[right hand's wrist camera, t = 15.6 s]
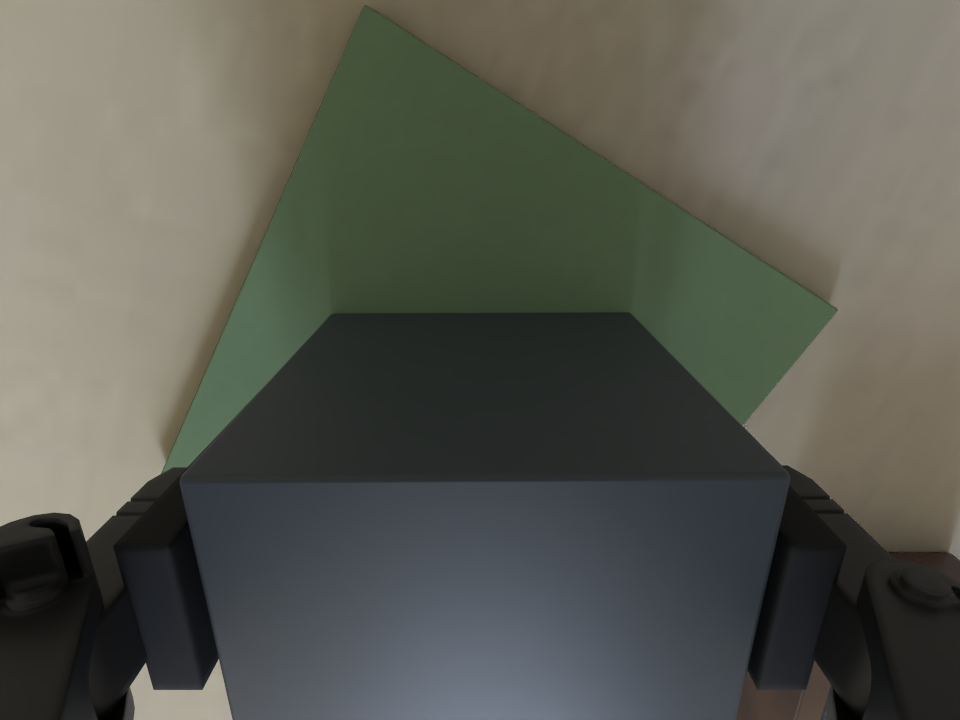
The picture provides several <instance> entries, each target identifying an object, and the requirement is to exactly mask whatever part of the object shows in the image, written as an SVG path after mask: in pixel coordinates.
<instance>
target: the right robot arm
mask: <svg viewBox="0 0 960 720" xmlns="http://www.w3.org/2000/svg"><path fill="white" fill-rule="evenodd" d="M258 393H259V392H258ZM258 393H257V394H258ZM257 394H256V395H257ZM256 395H255V396H256ZM255 396H254V397H255ZM245 407H246V406H245ZM245 407H244V408H245ZM244 408H243V409H244ZM243 409H242V410H243ZM242 410H241V411H242ZM241 411H240V412H241ZM240 412H239V413H240ZM239 413H238V414H239ZM238 414H237V415H238ZM237 415H236V416H237ZM232 421H233V420H232ZM232 421H231V422H232ZM231 422H230V423H231ZM230 423H229V424H230ZM229 424H228V425H229ZM228 425H227V426H228ZM227 426H226V427H227ZM226 427H225V428H226ZM225 428H224V429H225ZM224 429H223V430H224ZM223 430H222V431H223ZM222 431H221V432H222ZM221 432H220V433H221ZM220 433H219V434H218V436H219V435H220ZM218 436H217V437H218ZM217 437H216V438H217ZM216 438H215V439H216ZM215 439H214V440H215ZM214 440H213V441H214ZM213 441H212V442H213ZM212 442H211V443H212ZM211 443H210V444H211ZM210 444H209V445H210ZM209 445H208V446H209ZM208 446H207V447H208ZM207 447H206V448H205V449H204V450H203V451H202V452H201V453H200V455H201V454H202V453H203V452H204V451H205V450H206V449H207ZM200 455H199V456H200ZM199 456H198V457H199ZM198 457H197V458H198ZM197 458H196V459H197ZM196 459H195V460H196ZM195 460H194V461H195ZM194 461H193V462H192V463H191V464H190V465H189V466H188V467H173V468H171V469H169V470H168V471H166V472H164V473H162V474H161V475H159V476H157V477H155V478H154V479H152V480H150V481H148V482H147V483H146V484H145V485H144V486H143V487H142V488H141V489H140V490H139V491H138V492H137V493H136V494H135V495H134V496H133V497H132V498H131V501H130V502H127V503H126V504H125V505H124V506H123V507H121V508H120V509H119V510H118V511H117V514H116V516H112V517H111V518H110V519H109V520H108V521H107V522H106V523H105V524H104V525H103V526H102V527H101V528H100V529H99V530H98V531H97V532H96V533H95V534H94V535H93V536H92V537H91V538H90V539H89V540H88V541H87V542H86V541H85V538H84V534H83V531H82V528H81V525H80V521H79V520H78V519H77V518H75V517H74V516H72V515H70V514H62V513H48V514H41V515H33V516H30V517H27V518H23V519H20V520H16V521H13V522H10V523H8V524H5V525H3V526H1V527H0V720H133V718H134V710H135V707H134V701H133V696H132V693H131V689H130V685H131V684H132V682H133V681H134V679H135V678H136V676H137V675H138V673H139V672H140V670H141V669H142V667H143V666H144V664H145V663H146V664H147V668H148V671H149V675H150V678H151V682H152V685H153V689H154V690H203V688H204V686H205V684H206V682H207V680H208V678H209V676H210V674H211V672H212V670H213V668H214V667H215V665H216V663H217V661H218V659H219V656H218V652H217V647H216V643H215V638H214V634H213V629H212V625H211V621H210V616H209V612H208V607H207V603H206V598H205V594H204V589H203V585H202V581H201V576H200V572H199V567H198V563H197V558H196V554H195V550H194V545H193V541H192V536H191V532H190V527H189V523H188V518H187V514H186V510H185V505H184V501H183V496H182V492H181V487H180V478H181V475H182V474H183V473H184V472H185V471H186V470H187V469H188V468H189V467H190V466H191V465H192V464H193V463H194ZM783 468H784V469H785V470H786V471H787V472H788V473H789V475H790V483H789V488H788V492H787V496H786V501H785V505H784V510H783V514H782V519H781V523H780V527H779V532H778V536H777V541H776V545H775V550H774V554H773V558H772V563H771V567H770V572H769V576H768V581H767V585H766V589H765V594H764V598H763V603H762V607H761V611H760V616H759V620H758V625H757V629H756V634H755V638H754V642H753V647H752V651H751V656H750V660H749V665H748V669H747V670H748V672H749V674H750V676H751V678H752V680H753V682H754V684H755V686H756V688H757V690H806V689H807V685H808V682H809V678H810V675H811V671H812V668H813V664H814V661H816V663H817V664H818V666H819V667H820V669H821V670H822V672H823V673H824V675H825V676H826V678H827V679H828V681H829V682H830V684H831V686H830V689H829V692H828V696H827V699H826V702H825V706H824V709H823V712H822V716H821V719H820V720H960V584H959V583H958V582H957V581H955V580H954V579H952V578H950V577H948V576H946V575H944V574H942V573H940V572H939V571H937V570H935V569H933V568H930V567H927V566H924V565H921V564H918V563H915V562H912V561H906V560H899V559H894V558H893V557H892V556H891V555H890V554H889V553H888V552H887V551H886V550H884V549H883V548H882V547H881V546H880V545H879V544H878V543H877V542H876V541H875V540H874V539H873V538H872V537H871V536H870V535H869V534H868V533H867V532H866V531H865V530H864V529H863V528H862V527H861V526H860V525H859V524H858V523H857V522H856V521H854V520H853V519H852V518H851V517H850V516H849V515H848V514H844V510H843V509H842V508H841V507H840V506H839V505H838V504H837V503H836V502H835V501H834V500H830V498H829V497H830V496H829V495H828V494H827V493H826V492H825V491H823V490H822V489H821V488H820V487H819V486H818V485H817V484H816V483H815V482H814V481H813V480H812V479H810V478H808V477H807V476H805V475H803V474H801V473H800V472H798V471H796V470H794V469H793V468H791V467H789V466H783Z"/></svg>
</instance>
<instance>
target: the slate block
mask: <svg viewBox="0 0 960 720" xmlns="http://www.w3.org/2000/svg"><path fill="white" fill-rule="evenodd" d="M789 483H790V475H789V473H788V472H787V471H786V470H785V469H784V468H783V466H782V465H781V464H780V463H779V462H778V461H777V460H776V459H775V458H774V457H773V456H772V455H771V454H770V453H769V452H768V451H767V450H766V449H765V448H764V447H763V446H762V445H761V444H760V443H759V442H758V441H757V440H756V439H755V438H754V437H753V436H752V435H751V434H750V433H749V432H748V431H747V430H746V429H745V428H744V427H743V426H742V425H741V424H740V423H739V422H738V421H737V420H736V419H735V418H734V417H733V416H732V415H731V414H730V413H729V412H728V411H727V410H726V409H725V408H724V407H723V406H722V405H721V404H720V403H719V402H718V401H717V400H716V399H715V398H714V397H713V396H712V395H711V394H710V393H709V392H708V391H707V390H706V389H705V388H704V387H703V386H702V385H701V384H700V383H699V382H698V381H697V380H696V379H695V378H694V377H693V376H692V375H691V374H690V373H689V372H688V371H687V370H686V369H685V368H684V367H683V366H682V365H681V364H680V363H679V361H678V360H677V359H676V358H675V357H674V356H673V355H672V354H671V353H670V352H669V351H668V350H667V349H666V348H665V347H664V346H663V345H662V344H661V343H660V342H659V341H658V340H657V339H656V338H655V337H654V336H653V335H652V334H651V333H650V332H649V331H648V330H647V329H646V328H645V327H644V326H643V325H642V324H641V323H640V322H639V321H638V320H637V319H636V318H635V317H634V316H633V315H632V314H631V313H629V312H593V313H340V314H331V315H330V316H329V317H328V318H327V319H326V320H325V321H324V322H323V324H322V325H321V326H320V327H319V328H318V329H317V330H316V331H315V332H314V333H313V334H312V335H311V336H310V338H309V339H308V340H307V341H306V342H305V343H304V344H303V345H302V346H301V347H300V348H299V349H298V350H297V352H296V353H295V354H294V355H293V356H292V357H291V358H290V359H289V360H288V361H287V362H286V363H285V364H284V366H283V367H282V368H281V369H280V370H279V371H278V372H277V373H276V374H275V375H274V376H273V377H272V379H271V380H270V381H269V382H268V383H267V384H266V385H265V386H264V387H263V388H262V389H261V390H260V391H259V393H258V394H257V395H256V396H255V397H254V398H253V399H252V400H251V401H250V402H249V403H248V404H247V405H246V407H245V408H244V409H243V410H242V411H241V412H240V413H239V414H238V415H237V416H236V417H235V418H234V419H233V421H232V422H231V423H230V424H229V425H228V426H227V427H226V428H225V429H224V430H223V431H222V432H221V433H220V435H219V436H218V437H217V438H216V439H215V440H214V441H213V442H212V443H211V444H210V445H209V446H208V447H207V449H206V450H205V451H204V452H203V453H202V454H201V455H200V456H199V457H198V458H197V459H196V460H195V461H194V463H193V464H192V465H191V466H190V467H189V468H188V469H187V470H186V471H185V472H184V473H183V474H182V475H181V478H180V487H181V492H182V496H183V501H184V505H185V510H186V514H187V518H188V523H189V527H190V532H191V536H192V541H193V545H194V550H195V554H196V558H197V563H198V567H199V572H200V576H201V581H202V585H203V589H204V594H205V598H206V603H207V607H208V612H209V616H210V621H211V625H212V629H213V634H214V638H215V643H216V647H217V652H218V656H219V661H220V665H221V669H222V674H223V678H224V683H225V687H226V692H227V696H228V701H229V705H230V709H231V714H232V718H233V720H736V718H737V713H738V709H739V704H740V700H741V695H742V691H743V687H744V682H745V678H746V673H747V669H748V665H749V660H750V656H751V651H752V647H753V642H754V638H755V634H756V629H757V625H758V620H759V616H760V611H761V607H762V603H763V598H764V594H765V589H766V585H767V581H768V576H769V572H770V567H771V563H772V558H773V554H774V550H775V545H776V541H777V536H778V532H779V527H780V523H781V519H782V514H783V510H784V505H785V501H786V496H787V492H788V488H789Z"/></svg>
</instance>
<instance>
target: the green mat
mask: <svg viewBox="0 0 960 720" xmlns="http://www.w3.org/2000/svg"><path fill="white" fill-rule="evenodd" d="M593 312H629V313H631V314H632V315H633V316H634V317H635V318H636V319H637V320H638V321H639V322H640V323H641V324H642V325H643V326H644V327H645V328H646V329H647V330H648V331H649V332H650V333H651V334H652V335H653V336H654V337H655V338H656V339H657V340H658V341H659V342H660V343H661V344H662V345H663V346H664V347H665V348H666V349H667V350H668V351H669V352H670V353H671V354H672V355H673V356H674V357H675V358H676V359H677V360H678V361H679V363H680V364H681V365H682V366H683V367H684V368H685V369H686V370H687V371H688V372H689V373H690V374H691V375H692V376H693V377H694V378H695V379H696V380H697V381H698V382H699V383H700V384H701V385H702V386H703V387H704V388H705V389H706V390H707V391H708V392H709V393H710V394H711V395H712V396H713V397H714V398H715V399H716V400H717V401H718V402H719V403H720V404H721V405H722V406H723V407H724V408H725V409H726V410H727V411H728V412H729V413H730V414H731V415H732V416H733V417H734V418H735V419H736V420H737V421H738V422H739V423H740V424H741V425H743V424H744V423H745V422H746V420H747V419H748V418H749V417H750V416H751V414H752V413H753V412H754V411H755V410H756V408H757V407H758V406H759V405H760V404H761V402H762V401H763V400H764V399H765V398H766V396H767V395H768V394H769V393H770V392H771V390H772V389H773V388H774V387H775V385H776V384H777V383H778V382H779V381H780V379H781V378H782V377H783V376H784V375H785V373H786V372H787V371H788V370H789V369H790V367H791V366H792V365H793V364H794V363H795V361H796V360H797V359H798V358H799V357H800V355H801V354H802V353H803V352H804V351H805V349H806V348H807V347H808V346H809V344H810V343H811V342H812V341H813V340H814V338H815V337H816V336H817V335H818V334H819V332H820V331H821V330H822V329H823V328H824V326H825V325H826V324H827V323H828V322H829V320H830V319H831V318H832V317H833V316H834V314H835V313H836V312H837V308H835V307H834V306H832V305H831V304H829V303H827V302H826V301H824V300H823V299H821V298H820V297H818V296H817V295H815V294H814V293H812V292H810V291H809V290H807V289H806V288H804V287H803V286H801V285H800V284H798V283H796V282H795V281H793V280H792V279H790V278H789V277H787V276H786V275H784V274H782V273H781V272H779V271H778V270H776V269H775V268H773V267H772V266H770V265H769V264H767V263H765V262H764V261H762V260H761V259H759V258H758V257H756V256H755V255H753V254H751V253H750V252H748V251H747V250H745V249H744V248H742V247H741V246H739V245H737V244H736V243H734V242H733V241H731V240H730V239H728V238H727V237H725V236H724V235H722V234H720V233H719V232H717V231H716V230H714V229H713V228H711V227H710V226H708V225H706V224H705V223H703V222H702V221H700V220H699V219H697V218H696V217H694V216H693V215H691V214H689V213H688V212H686V211H685V210H683V209H682V208H680V207H679V206H677V205H675V204H674V203H672V202H671V201H669V200H668V199H666V198H665V197H663V196H661V195H660V194H658V193H657V192H655V191H654V190H652V189H651V188H649V187H648V186H646V185H644V184H643V183H641V182H640V181H638V180H637V179H635V178H634V177H632V176H630V175H629V174H627V173H626V172H624V171H623V170H621V169H620V168H618V167H616V166H615V165H613V164H612V163H610V162H609V161H607V160H606V159H604V158H603V157H601V156H599V155H598V154H596V153H595V152H593V151H592V150H590V149H589V148H587V147H585V146H584V145H582V144H581V143H579V142H578V141H576V140H575V139H573V138H571V137H570V136H568V135H567V134H565V133H564V132H562V131H561V130H559V129H558V128H556V127H554V126H553V125H551V124H550V123H548V122H547V121H545V120H544V119H542V118H540V117H539V116H537V115H536V114H534V113H533V112H531V111H530V110H528V109H527V108H525V107H523V106H522V105H520V104H519V103H517V102H516V101H514V100H513V99H511V98H509V97H508V96H506V95H505V94H503V93H502V92H500V91H499V90H497V89H495V88H494V87H492V86H491V85H489V84H488V83H486V82H485V81H483V80H482V79H480V78H478V77H477V76H475V75H474V74H472V73H471V72H469V71H468V70H466V69H464V68H463V67H461V66H460V65H458V64H457V63H455V62H454V61H452V60H450V59H449V58H447V57H446V56H444V55H443V54H441V53H440V52H438V51H437V50H435V49H433V48H432V47H430V46H429V45H427V44H426V43H424V42H423V41H421V40H419V39H418V38H416V37H415V36H413V35H412V34H410V33H409V32H407V31H406V30H404V29H402V28H401V27H399V26H398V25H396V24H395V23H393V22H392V21H390V20H388V19H387V18H385V17H384V16H382V15H381V14H379V13H378V12H376V11H374V10H373V9H371V8H370V7H368V6H367V5H365V6H364V7H363V9H362V12H361V14H360V16H359V19H358V21H357V23H356V26H355V28H354V30H353V32H352V35H351V37H350V39H349V42H348V44H347V46H346V49H345V51H344V53H343V56H342V58H341V60H340V62H339V65H338V67H337V69H336V72H335V74H334V76H333V79H332V81H331V83H330V86H329V88H328V90H327V92H326V95H325V97H324V99H323V102H322V104H321V106H320V109H319V111H318V113H317V116H316V118H315V120H314V122H313V125H312V127H311V129H310V132H309V134H308V136H307V139H306V141H305V143H304V145H303V148H302V150H301V152H300V155H299V157H298V159H297V162H296V164H295V166H294V169H293V171H292V173H291V175H290V178H289V180H288V182H287V185H286V187H285V189H284V192H283V194H282V196H281V199H280V201H279V203H278V205H277V208H276V210H275V212H274V215H273V217H272V219H271V222H270V224H269V226H268V229H267V231H266V233H265V235H264V238H263V240H262V242H261V245H260V247H259V249H258V252H257V254H256V256H255V259H254V261H253V263H252V265H251V268H250V270H249V272H248V275H247V277H246V279H245V282H244V284H243V286H242V289H241V291H240V293H239V295H238V298H237V300H236V302H235V305H234V307H233V309H232V312H231V314H230V316H229V319H228V321H227V323H226V325H225V328H224V330H223V332H222V335H221V337H220V339H219V342H218V344H217V346H216V348H215V351H214V353H213V355H212V358H211V360H210V362H209V365H208V367H207V369H206V372H205V374H204V376H203V378H202V381H201V383H200V385H199V388H198V390H197V392H196V395H195V397H194V399H193V402H192V404H191V406H190V408H189V411H188V413H187V415H186V418H185V420H184V422H183V425H182V427H181V429H180V432H179V434H178V436H177V438H176V441H175V443H174V445H173V448H172V450H171V452H170V455H169V457H168V459H167V462H166V464H165V466H164V468H163V471H162V473H164V472H166V471H168V470H169V469H171V468H173V467H188V466H189V465H190V464H191V463H192V462H193V461H194V460H195V459H196V458H197V457H198V456H199V455H200V453H201V452H202V451H203V450H204V449H205V448H206V447H207V446H208V445H209V444H210V443H211V442H212V441H213V440H214V439H215V438H216V437H217V436H218V434H219V433H220V432H221V431H222V430H223V429H224V428H225V427H226V426H227V425H228V424H229V423H230V422H231V421H232V420H233V419H234V418H235V417H236V415H237V414H238V413H239V412H240V411H241V410H242V409H243V408H244V407H245V406H246V405H247V404H248V403H249V402H250V401H251V400H252V399H253V398H254V396H255V395H256V394H257V393H258V392H259V391H260V390H261V389H262V388H263V387H264V386H265V385H266V384H267V383H268V382H269V381H270V380H271V379H272V377H273V376H274V375H275V374H276V373H277V372H278V371H279V370H280V369H281V368H282V367H283V366H284V364H285V363H286V362H287V361H288V360H289V359H290V358H291V357H292V356H293V355H294V354H295V353H296V352H297V350H298V349H299V348H300V347H301V346H302V345H303V344H304V343H305V342H306V341H307V340H308V339H309V338H310V336H311V335H312V334H313V333H314V332H315V331H316V330H317V329H318V328H319V327H320V326H321V325H322V324H323V322H324V321H325V320H326V319H327V318H328V317H329V316H330V315H331V314H340V313H593ZM162 473H161V474H162Z"/></svg>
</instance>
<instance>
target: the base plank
mask: <svg viewBox="0 0 960 720" xmlns="http://www.w3.org/2000/svg"><path fill="white" fill-rule="evenodd" d="M889 554H890V555H891V556H892V557H893V558H894V559H899V560H906V561H912V562H915V563H918V564H921V565H924V566H927V567H930V568H933V569H935V570H937V571H939V572H940V573H942V574H944V575H946V576H948V577H950V578H952V579H954V580H955V581H957V582H958V583H959V584H960V560H959V559H957V558H956V557H955V556H954V555H953V554H951V553H889ZM830 686H831V684H830V682H829V681H828V679H827V678H826V676H825V675H824V673H823V672H822V670H821V669H820V667H819V666H818V664H817V663H816V661H814V664H813V668H812V671H811V675H810V678H809V682H808V685H807V689H806V690H757V688H756V686H755V684H754V682H753V680H752V678H751V676H750V674H749V672H748V670H747V673H746V678H745V682H744V687H743V691H742V695H741V700H740V704H739V709H738V713H737V718H736V720H820V719H821V716H822V712H823V709H824V706H825V702H826V699H827V696H828V692H829V689H830Z"/></svg>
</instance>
